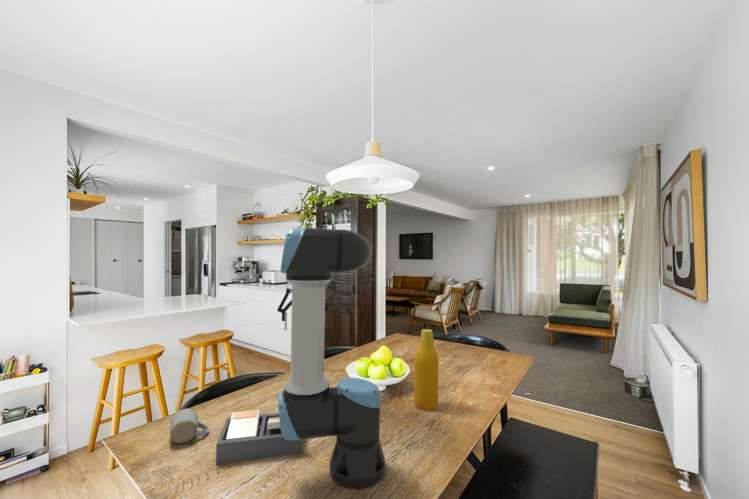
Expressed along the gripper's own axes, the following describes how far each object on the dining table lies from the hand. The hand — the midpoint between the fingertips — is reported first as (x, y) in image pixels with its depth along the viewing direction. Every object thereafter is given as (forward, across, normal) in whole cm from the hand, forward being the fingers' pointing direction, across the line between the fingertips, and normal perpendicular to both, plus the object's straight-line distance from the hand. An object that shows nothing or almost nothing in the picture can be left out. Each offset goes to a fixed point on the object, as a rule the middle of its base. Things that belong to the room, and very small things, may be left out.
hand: (303, 328), depth 134 cm
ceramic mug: (+28, +35, +22) cm, 50 cm away
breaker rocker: (+22, +18, +31) cm, 42 cm away
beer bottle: (+28, -47, +16) cm, 57 cm away
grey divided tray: (+28, +12, +31) cm, 43 cm away
